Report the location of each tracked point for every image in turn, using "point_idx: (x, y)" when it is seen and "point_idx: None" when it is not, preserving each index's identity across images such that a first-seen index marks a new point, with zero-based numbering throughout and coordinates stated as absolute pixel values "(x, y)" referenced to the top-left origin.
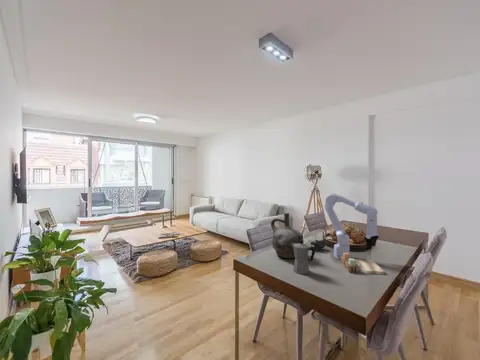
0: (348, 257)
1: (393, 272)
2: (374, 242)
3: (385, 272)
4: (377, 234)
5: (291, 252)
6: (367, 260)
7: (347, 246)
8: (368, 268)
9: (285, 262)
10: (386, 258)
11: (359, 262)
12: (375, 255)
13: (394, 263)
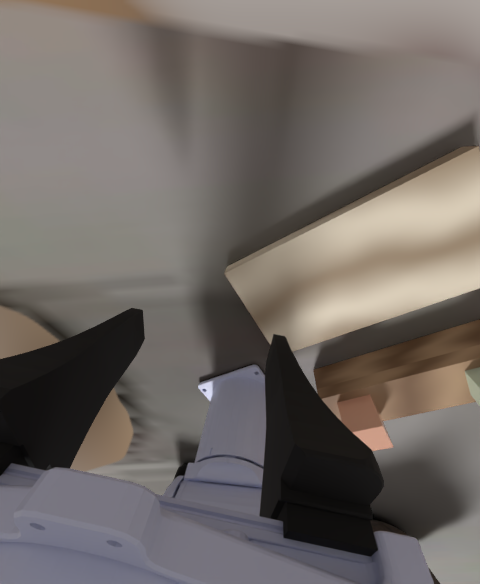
0: (376, 408)
1: (380, 81)
2: (112, 345)
3: (472, 146)
4: (111, 546)
5: (430, 571)
6: (254, 294)
7: (256, 459)
8: (439, 275)
9: (444, 531)
10: (55, 177)
11: (329, 332)
12: (60, 254)
13: (125, 99)
